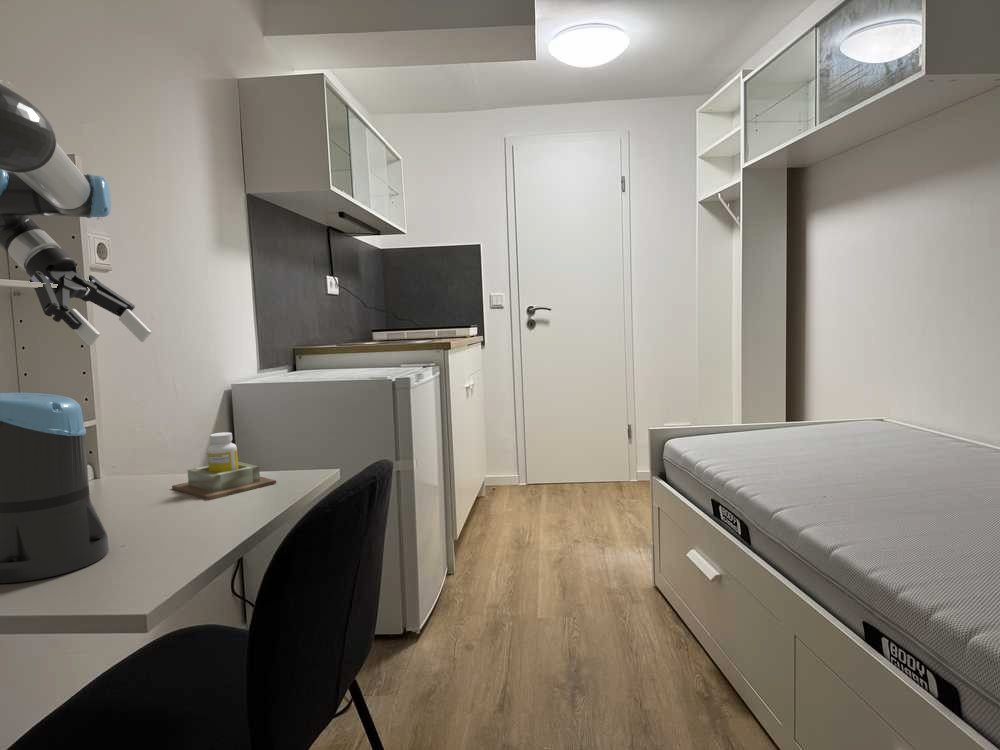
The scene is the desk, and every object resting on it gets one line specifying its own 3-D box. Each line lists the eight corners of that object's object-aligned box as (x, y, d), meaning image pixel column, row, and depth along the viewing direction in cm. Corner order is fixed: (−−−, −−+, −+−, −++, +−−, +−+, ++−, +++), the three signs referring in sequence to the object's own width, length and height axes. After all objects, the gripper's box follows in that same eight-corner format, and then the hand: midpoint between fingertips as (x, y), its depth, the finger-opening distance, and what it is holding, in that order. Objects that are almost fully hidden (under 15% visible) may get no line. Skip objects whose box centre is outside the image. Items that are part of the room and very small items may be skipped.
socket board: (208, 499, 120) (207, 480, 119) (172, 488, 128) (170, 470, 128) (276, 483, 131) (275, 465, 130) (238, 474, 139) (237, 457, 139)
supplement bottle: (225, 478, 133) (222, 430, 132) (245, 480, 131) (242, 432, 130) (203, 484, 128) (200, 435, 127) (222, 487, 126) (219, 437, 125)
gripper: (83, 278, 137) (154, 348, 136) (-29, 270, 112) (56, 357, 111) (104, 251, 135) (176, 322, 135) (-5, 238, 111) (81, 325, 110)
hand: (122, 338), depth 123 cm, fingers open, 13 cm apart
